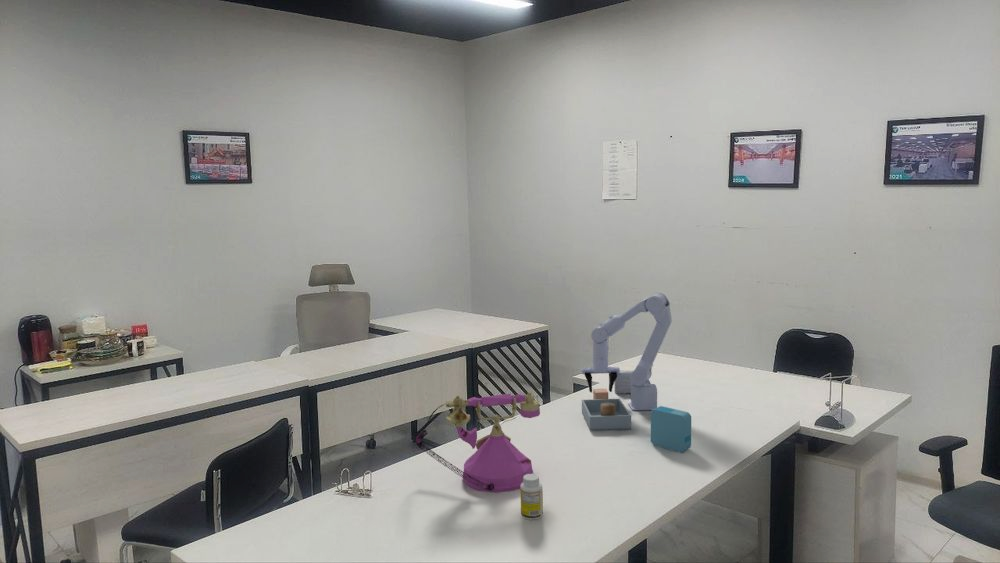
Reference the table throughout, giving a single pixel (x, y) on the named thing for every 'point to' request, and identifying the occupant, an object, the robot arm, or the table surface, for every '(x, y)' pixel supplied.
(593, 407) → the tote
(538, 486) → the supplement bottle
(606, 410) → the walnut cylinder
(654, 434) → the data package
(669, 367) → the table surface
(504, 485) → the telephone
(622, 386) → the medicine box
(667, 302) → the robot arm
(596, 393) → the terracotta cube
